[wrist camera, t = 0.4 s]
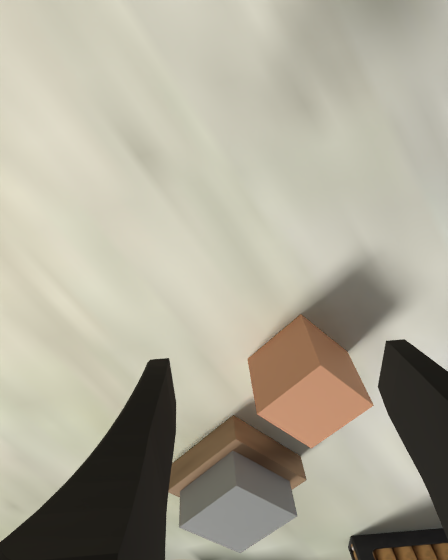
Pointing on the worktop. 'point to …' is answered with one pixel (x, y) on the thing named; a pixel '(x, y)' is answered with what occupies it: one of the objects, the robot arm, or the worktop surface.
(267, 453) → the walnut slab
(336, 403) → the terracotta cube
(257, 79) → the worktop surface
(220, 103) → the worktop surface
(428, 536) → the ammunition clip
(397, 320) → the worktop surface
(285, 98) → the worktop surface
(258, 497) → the grey slab
